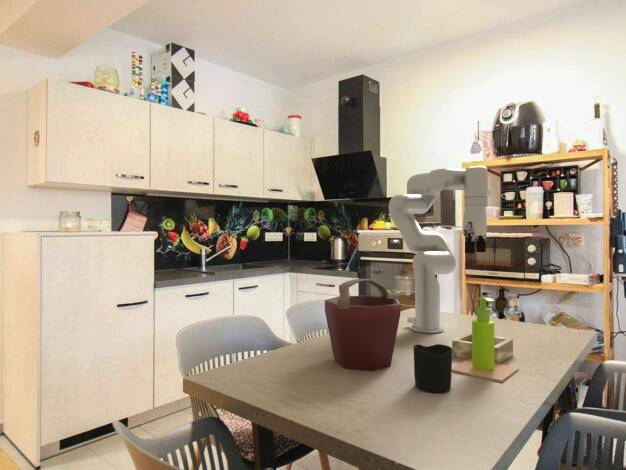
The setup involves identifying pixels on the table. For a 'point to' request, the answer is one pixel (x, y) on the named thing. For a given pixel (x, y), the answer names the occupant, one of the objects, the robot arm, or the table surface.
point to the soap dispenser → (483, 338)
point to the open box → (464, 348)
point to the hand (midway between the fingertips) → (475, 252)
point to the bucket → (362, 327)
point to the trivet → (497, 374)
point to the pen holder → (433, 368)
